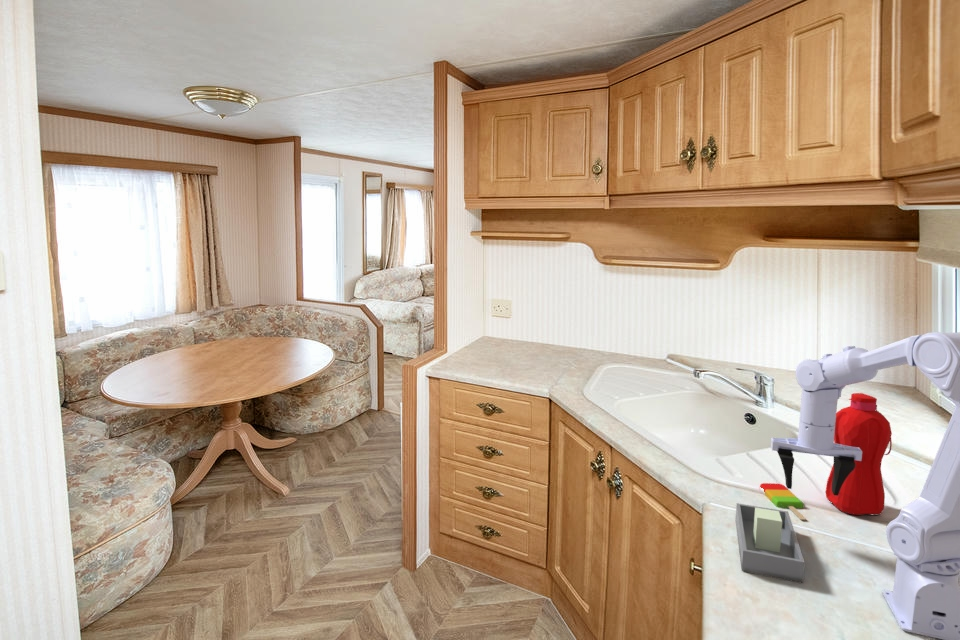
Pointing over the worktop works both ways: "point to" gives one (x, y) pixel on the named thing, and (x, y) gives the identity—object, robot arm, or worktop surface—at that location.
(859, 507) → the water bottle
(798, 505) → the popsicle
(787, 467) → the robot arm
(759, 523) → the sage block
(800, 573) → the bin
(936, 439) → the worktop surface
